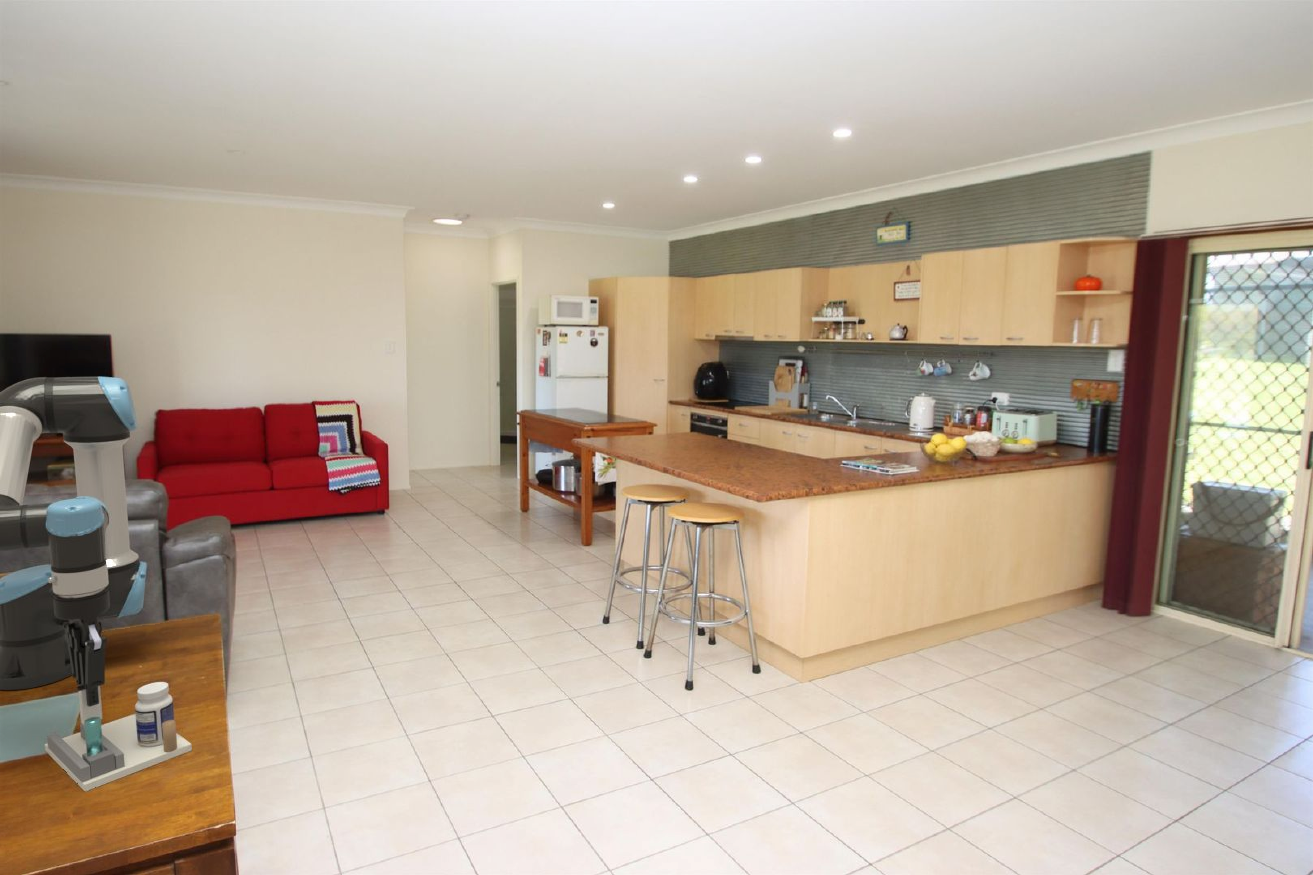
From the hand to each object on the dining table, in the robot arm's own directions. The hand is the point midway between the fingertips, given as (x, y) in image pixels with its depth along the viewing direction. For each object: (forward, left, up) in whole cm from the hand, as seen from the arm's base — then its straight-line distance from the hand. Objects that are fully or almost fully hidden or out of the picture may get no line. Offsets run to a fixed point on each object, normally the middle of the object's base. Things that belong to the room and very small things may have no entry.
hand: (91, 720), depth 131 cm
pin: (+6, -1, -6) cm, 8 cm away
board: (0, +4, -7) cm, 8 cm away
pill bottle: (+4, +8, -6) cm, 11 cm away
